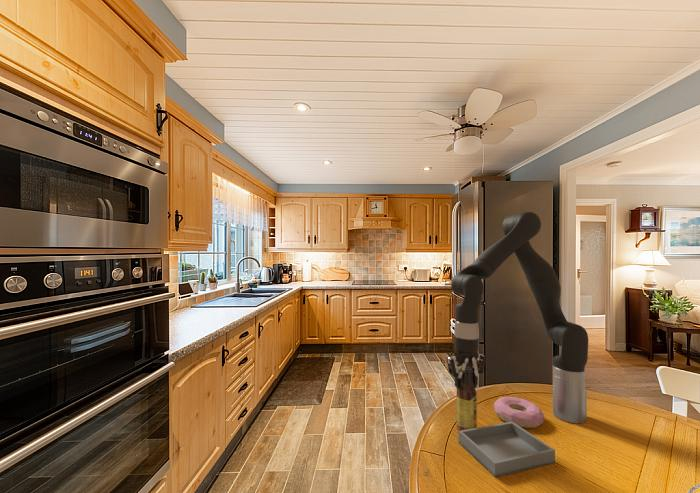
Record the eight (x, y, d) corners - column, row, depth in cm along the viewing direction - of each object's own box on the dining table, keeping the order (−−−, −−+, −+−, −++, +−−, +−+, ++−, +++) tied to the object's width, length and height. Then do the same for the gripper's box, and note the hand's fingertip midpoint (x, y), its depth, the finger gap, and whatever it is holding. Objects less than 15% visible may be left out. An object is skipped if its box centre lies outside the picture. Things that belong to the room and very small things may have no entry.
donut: (484, 410, 113) (484, 396, 113) (519, 405, 117) (519, 392, 117) (517, 434, 98) (517, 418, 98) (555, 428, 102) (555, 413, 102)
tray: (512, 432, 99) (512, 421, 99) (555, 463, 84) (555, 450, 84) (458, 442, 93) (458, 430, 93) (494, 477, 79) (494, 463, 79)
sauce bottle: (478, 436, 97) (478, 372, 97) (457, 433, 98) (458, 370, 98) (474, 424, 103) (474, 365, 103) (455, 422, 104) (455, 363, 105)
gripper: (477, 331, 107) (476, 380, 106) (440, 333, 103) (440, 385, 102) (492, 337, 99) (492, 390, 99) (454, 339, 95) (454, 395, 95)
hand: (466, 387), depth 101 cm, fingers closed on sauce bottle, 5 cm apart
